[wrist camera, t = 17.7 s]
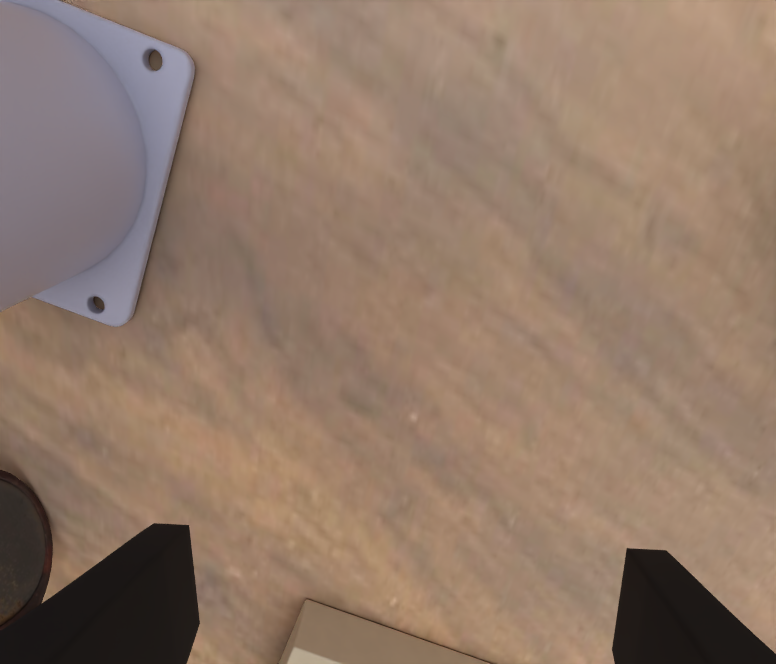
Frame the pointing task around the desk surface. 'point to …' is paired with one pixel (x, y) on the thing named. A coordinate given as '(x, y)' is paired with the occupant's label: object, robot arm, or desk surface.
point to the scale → (358, 642)
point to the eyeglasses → (22, 550)
